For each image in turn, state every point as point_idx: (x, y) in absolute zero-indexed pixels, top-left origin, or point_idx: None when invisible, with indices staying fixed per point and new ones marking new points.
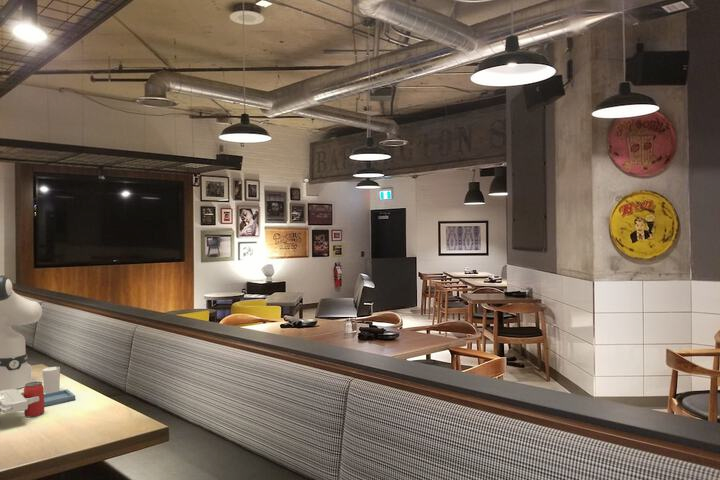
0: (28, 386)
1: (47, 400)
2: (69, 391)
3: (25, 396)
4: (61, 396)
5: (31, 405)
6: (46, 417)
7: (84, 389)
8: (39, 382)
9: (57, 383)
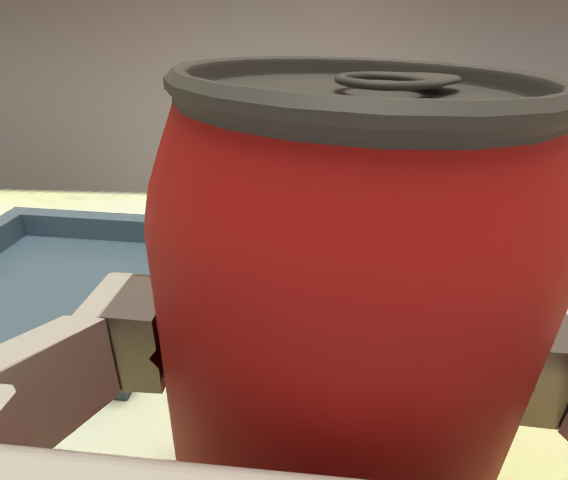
0: (555, 126)
1: (20, 321)
2: (80, 212)
3: (451, 450)
4: (57, 257)
5: None
6: (534, 476)
7: (64, 195)
8: (300, 72)
9: None
